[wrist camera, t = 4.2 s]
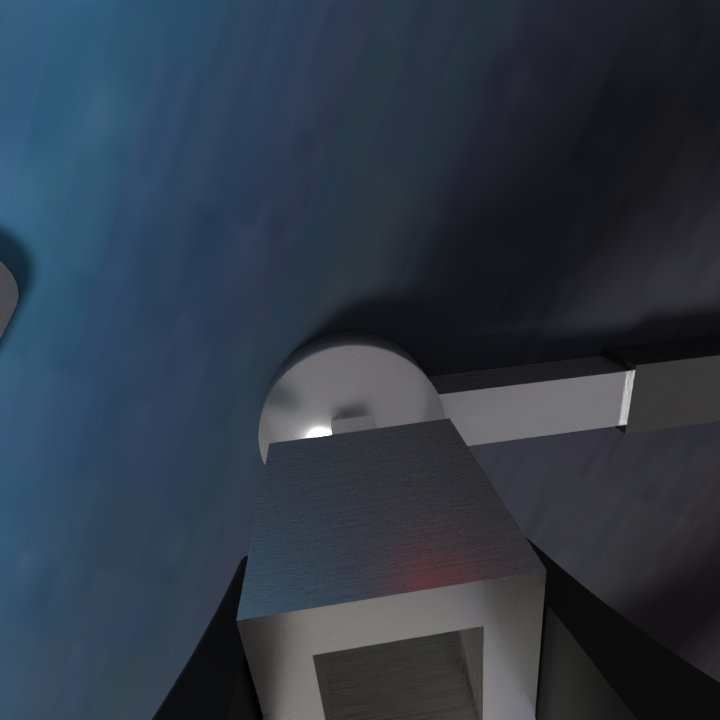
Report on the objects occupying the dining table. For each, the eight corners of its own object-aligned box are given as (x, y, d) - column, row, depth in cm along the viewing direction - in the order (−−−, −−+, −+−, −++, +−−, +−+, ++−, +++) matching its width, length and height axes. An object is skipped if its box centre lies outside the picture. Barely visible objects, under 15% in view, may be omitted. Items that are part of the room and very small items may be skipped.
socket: (453, 556, 13) (531, 753, 8) (296, 581, 13) (287, 801, 8) (449, 418, 11) (546, 570, 7) (269, 443, 11) (235, 621, 6)
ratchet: (707, 433, 20) (812, 492, 16) (277, 492, 19) (268, 576, 14) (742, 288, 18) (876, 313, 14) (250, 341, 16) (230, 389, 12)
